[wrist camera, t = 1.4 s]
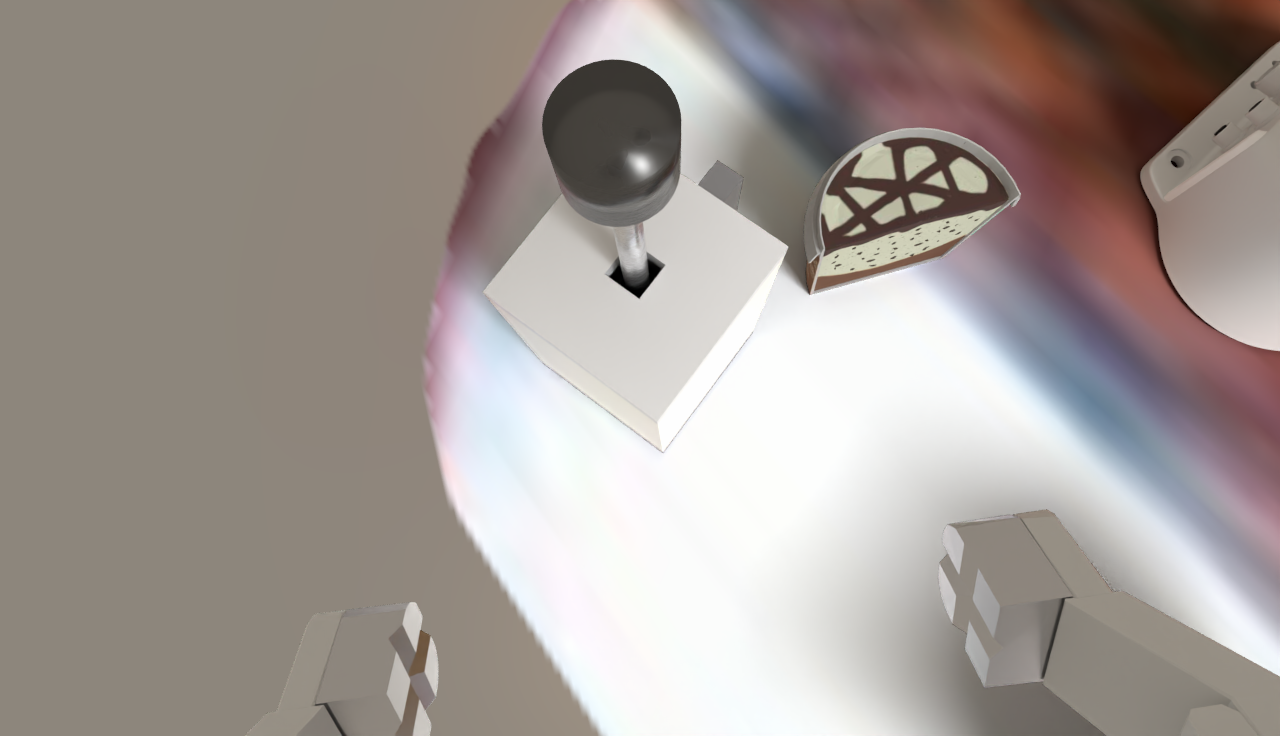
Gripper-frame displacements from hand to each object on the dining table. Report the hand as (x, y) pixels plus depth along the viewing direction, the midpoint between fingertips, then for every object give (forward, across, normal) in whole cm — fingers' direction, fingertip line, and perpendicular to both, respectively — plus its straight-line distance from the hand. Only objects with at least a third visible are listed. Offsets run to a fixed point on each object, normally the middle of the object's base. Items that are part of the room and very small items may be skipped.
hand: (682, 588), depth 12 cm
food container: (+40, -16, +14) cm, 46 cm away
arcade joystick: (+37, -1, +18) cm, 41 cm away
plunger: (+29, 0, +11) cm, 31 cm away
